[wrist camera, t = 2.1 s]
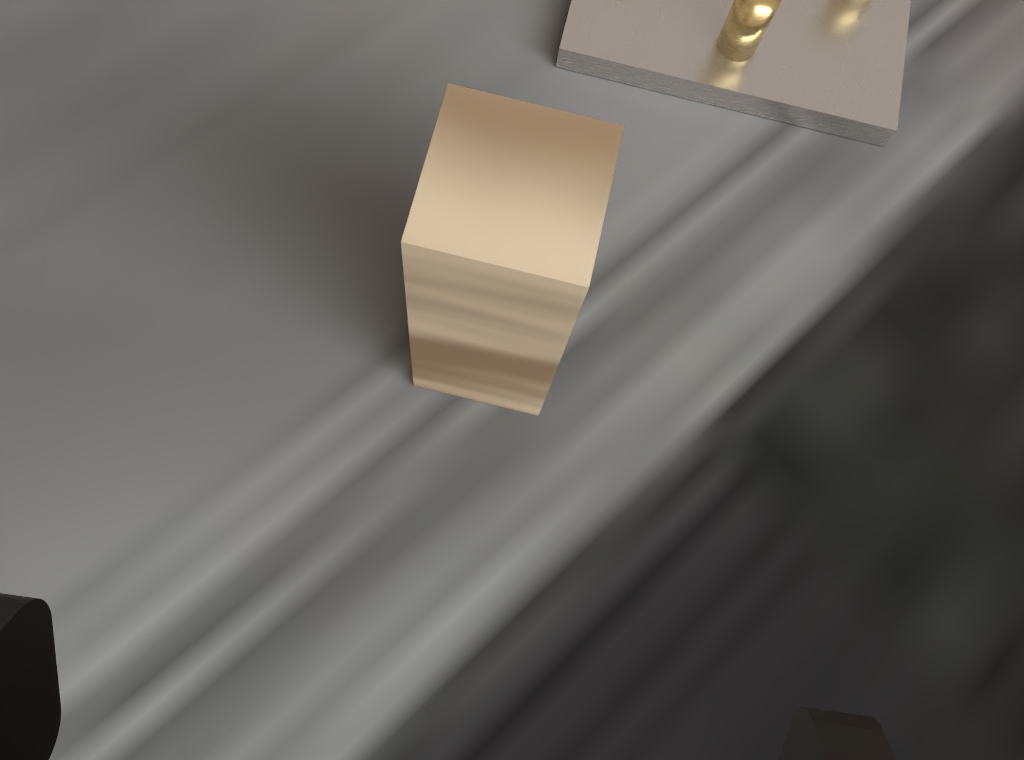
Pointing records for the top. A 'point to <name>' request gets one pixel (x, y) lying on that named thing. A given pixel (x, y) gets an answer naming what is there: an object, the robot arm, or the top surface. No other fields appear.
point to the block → (503, 244)
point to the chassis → (753, 56)
